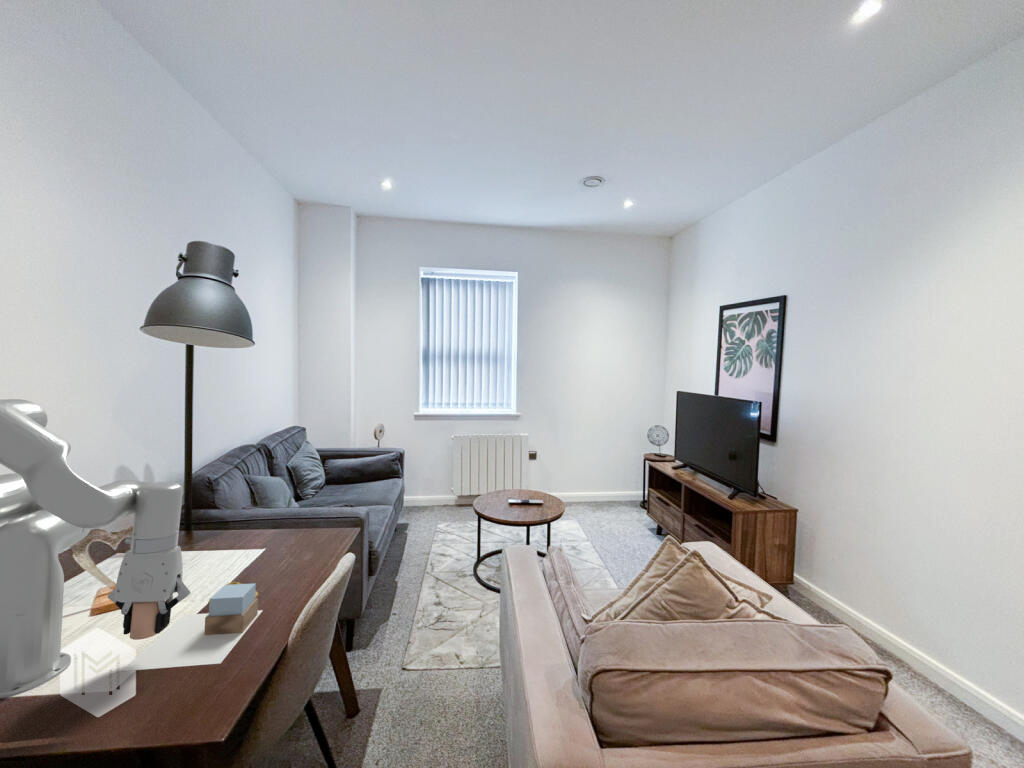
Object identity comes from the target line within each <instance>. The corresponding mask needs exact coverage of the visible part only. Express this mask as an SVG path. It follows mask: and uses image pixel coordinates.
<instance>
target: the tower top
mask: <svg viewBox="0 0 1024 768" xmlns="http://www.w3.org/2000/svg"><path fill="white" fill-rule="evenodd" d="M256 584H257V583H241V584H234V585H226V584H224V585H223V586H222V587H221V588H220V589H218V591H217V592H215V594H213V595H211V597H210V598H209V600H210V601H209V600H208V602H209V604H208V607H209V608H208V613H209V616H224V615H241V614H243V613H244V612H245V611H246V609H247V608H248V607H249V606H250V605H251V604H252V603H253V601H254V600H255V599H256V597H255V591H256V592H257V590H256V589H257V588H256V587H257V585H256Z"/></svg>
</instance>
